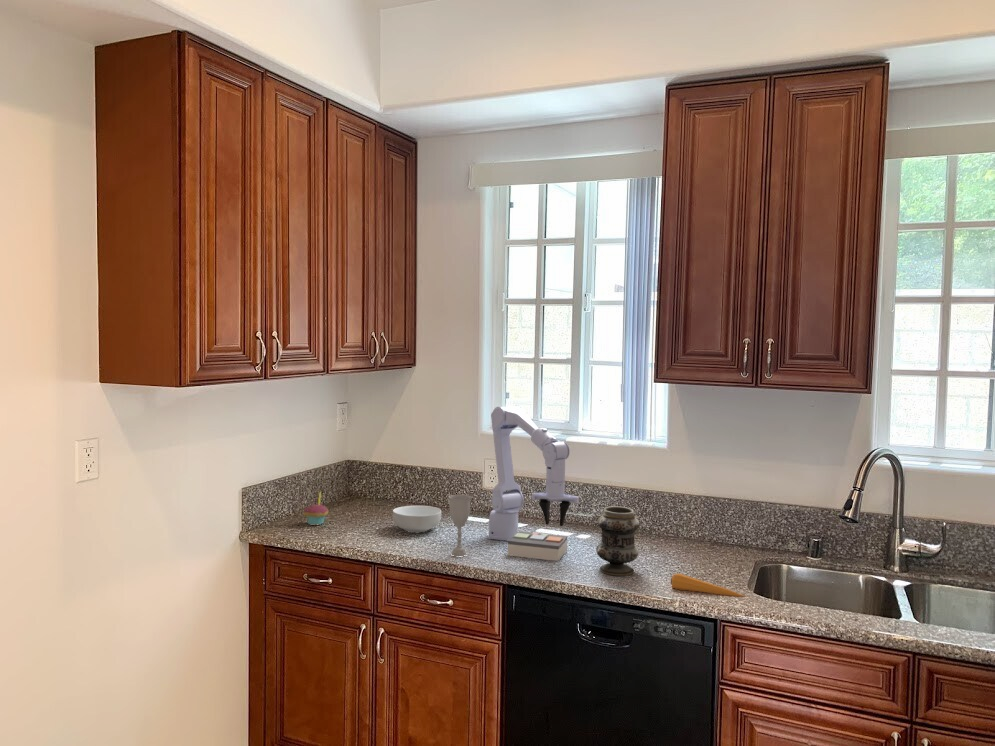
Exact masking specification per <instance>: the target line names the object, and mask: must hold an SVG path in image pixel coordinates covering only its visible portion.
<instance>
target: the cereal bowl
mask: <svg viewBox="0 0 995 746" xmlns="http://www.w3.org/2000/svg"><path fill="white" fill-rule="evenodd" d="M441 518H442V510H441V508H439V507H435V506H431V505H404V506H400V507H399V506H398V507H395V508H394V509H393V510H392V521H393V522H394V524H395V525H396V526H397V527H398V528H400V529H402V530H404V531H405V530H406V531H409V532H408V533H410V532H423V533H426V532H428V531H429V530H430V529H433V528H435V527H437V526H438V525H439V523H440V522H441ZM427 530H428V531H427ZM406 531H405V532H406ZM425 531H426V532H425Z"/></svg>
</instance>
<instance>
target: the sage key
mask: <svg viewBox="0 0 995 746" xmlns="http://www.w3.org/2000/svg"><path fill="white" fill-rule="evenodd" d="M529 537H530V534H523V533H517V534H516V535H515V536H514V538H517V539H528V538H529Z"/></svg>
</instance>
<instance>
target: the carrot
mask: <svg viewBox="0 0 995 746" xmlns="http://www.w3.org/2000/svg"><path fill="white" fill-rule="evenodd" d="M670 585H671V589H673V588H675V589H674V590H677V589H681V590H680V591H684V590H689V591H688V592H693V591H699V592H698V593H702V592H707V593H706V594H711V593H714V594H713V595H719V594H721V596H729V597H741V598H747V595H743V594H740V593H738V592H736V591H733V590H731V589H727V588H725V587H721V586H719V585H716V584H713V583H709V582H707V581H703V580H701V579H697V578H694V577H691V576H688V575H685V574H682V573H674V574H673V575H672V576H671V579H670Z"/></svg>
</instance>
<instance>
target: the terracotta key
mask: <svg viewBox="0 0 995 746" xmlns="http://www.w3.org/2000/svg"><path fill="white" fill-rule="evenodd" d="M561 541H562V537H552V536H549V537H548V538H547V539H546V542H556V543H561Z"/></svg>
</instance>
